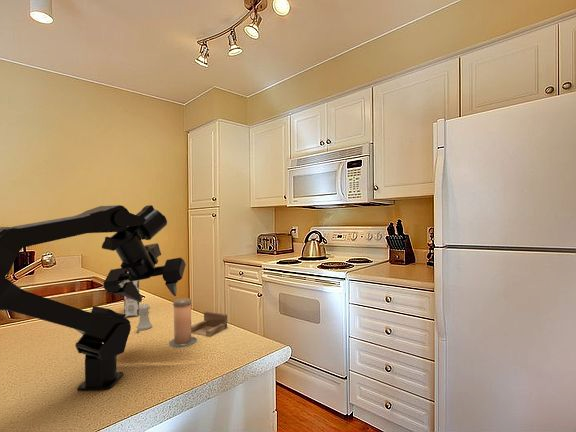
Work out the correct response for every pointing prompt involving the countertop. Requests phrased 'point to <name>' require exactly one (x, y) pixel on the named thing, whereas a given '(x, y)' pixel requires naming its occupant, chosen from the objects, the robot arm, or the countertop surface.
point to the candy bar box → (131, 304)
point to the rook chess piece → (144, 318)
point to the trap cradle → (210, 324)
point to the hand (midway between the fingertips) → (158, 297)
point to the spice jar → (182, 320)
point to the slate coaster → (193, 340)
